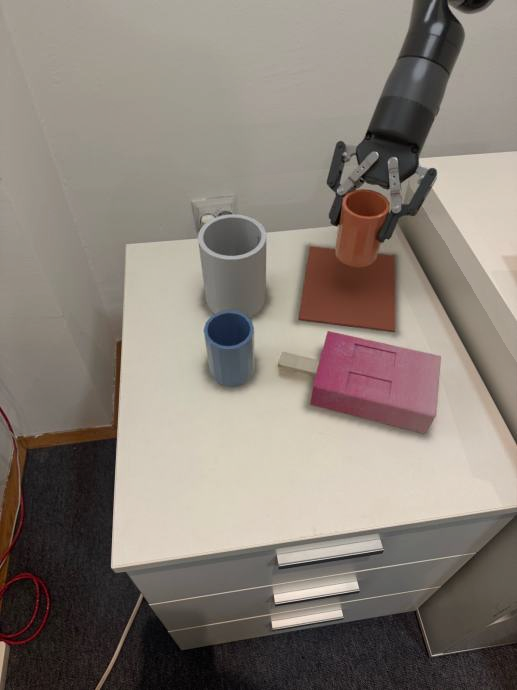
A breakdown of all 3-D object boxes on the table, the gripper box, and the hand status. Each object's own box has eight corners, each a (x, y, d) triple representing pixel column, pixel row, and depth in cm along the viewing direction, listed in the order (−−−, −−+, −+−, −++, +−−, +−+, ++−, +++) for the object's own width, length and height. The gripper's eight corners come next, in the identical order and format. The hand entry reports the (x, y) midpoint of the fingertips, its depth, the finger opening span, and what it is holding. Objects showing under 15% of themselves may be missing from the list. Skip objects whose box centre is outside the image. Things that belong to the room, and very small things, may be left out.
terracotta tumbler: (377, 240, 72) (390, 191, 65) (376, 269, 68) (389, 220, 61) (336, 236, 72) (344, 187, 65) (333, 264, 69) (341, 215, 62)
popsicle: (270, 395, 64) (425, 434, 60) (271, 375, 60) (436, 415, 57) (287, 342, 69) (430, 375, 66) (289, 320, 65) (441, 354, 62)
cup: (193, 301, 74) (184, 240, 64) (231, 268, 78) (227, 206, 69) (241, 329, 71) (238, 269, 61) (277, 292, 75) (279, 231, 65)
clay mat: (394, 257, 80) (394, 255, 79) (394, 332, 70) (395, 330, 70) (309, 247, 81) (309, 246, 81) (298, 320, 72) (298, 318, 71)
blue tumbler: (257, 353, 68) (257, 313, 61) (249, 389, 64) (248, 351, 58) (215, 347, 69) (210, 307, 62) (205, 383, 65) (198, 345, 58)
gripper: (350, 81, 61) (301, 211, 64) (464, 110, 56) (406, 247, 60) (359, 105, 68) (315, 221, 71) (462, 132, 63) (409, 254, 67)
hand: (357, 232), depth 65 cm, fingers closed on terracotta tumbler, 6 cm apart
